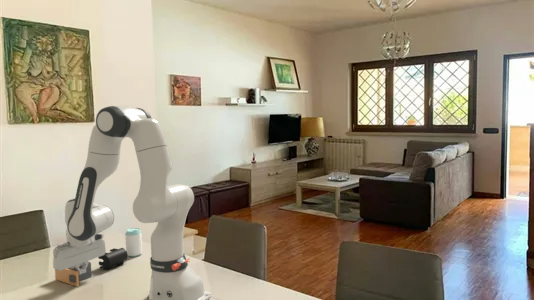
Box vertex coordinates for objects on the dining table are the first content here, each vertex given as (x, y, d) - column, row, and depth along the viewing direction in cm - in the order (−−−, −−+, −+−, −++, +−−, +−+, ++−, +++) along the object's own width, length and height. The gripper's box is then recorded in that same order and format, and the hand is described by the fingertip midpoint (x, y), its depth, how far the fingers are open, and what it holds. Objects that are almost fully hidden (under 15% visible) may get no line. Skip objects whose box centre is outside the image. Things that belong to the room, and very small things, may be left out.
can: (145, 252, 187) (143, 227, 186) (138, 257, 180) (136, 231, 179) (131, 251, 188) (129, 227, 187) (123, 257, 181) (122, 231, 180)
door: (79, 285, 150) (78, 271, 150) (75, 287, 149) (74, 273, 148) (57, 278, 158) (56, 265, 157) (53, 280, 156) (52, 266, 156)
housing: (91, 276, 159) (90, 260, 159) (73, 283, 153) (72, 267, 152) (76, 272, 165) (75, 256, 164) (58, 279, 158) (57, 263, 157)
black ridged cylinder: (109, 271, 165) (108, 255, 164) (98, 268, 168) (97, 253, 167) (128, 263, 173) (127, 248, 173) (116, 261, 177) (116, 246, 176)
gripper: (58, 248, 142) (60, 285, 143) (107, 233, 159) (109, 266, 160) (48, 245, 145) (50, 281, 146) (97, 231, 162) (99, 263, 164)
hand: (81, 273), depth 153 cm, fingers closed
